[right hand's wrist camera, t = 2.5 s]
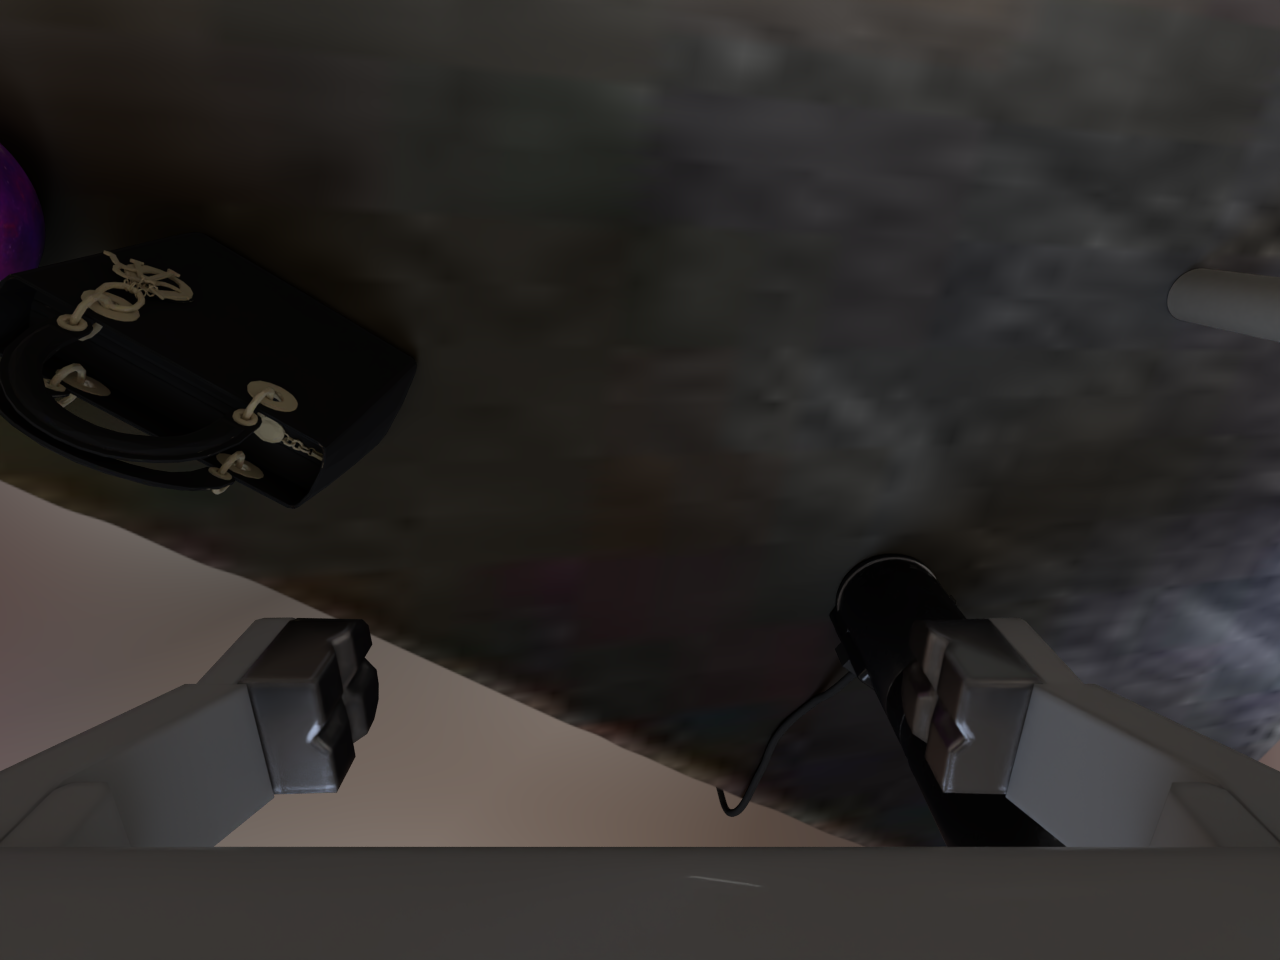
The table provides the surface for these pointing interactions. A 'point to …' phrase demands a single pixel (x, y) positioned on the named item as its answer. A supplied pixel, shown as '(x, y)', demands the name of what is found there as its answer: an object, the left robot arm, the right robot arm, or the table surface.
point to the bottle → (1228, 302)
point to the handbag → (194, 370)
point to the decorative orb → (18, 219)
